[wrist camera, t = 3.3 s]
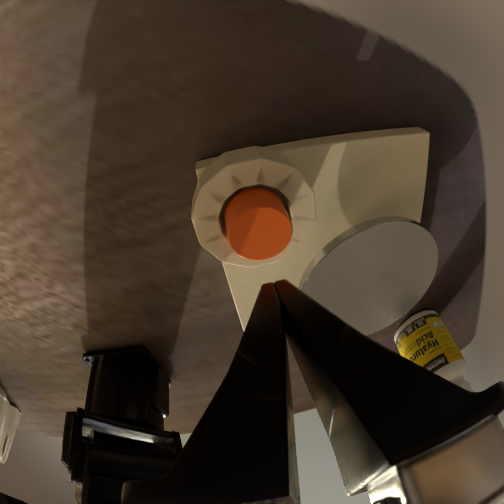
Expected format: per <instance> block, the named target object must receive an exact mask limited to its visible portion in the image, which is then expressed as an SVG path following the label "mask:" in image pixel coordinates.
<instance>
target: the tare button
mask: <svg viewBox="0 0 504 504" xmlns="http://www.w3.org/2000/svg"><path fill="white" fill-rule="evenodd" d="M225 222H226V230H227V238H228V242H229V245H230V247H231V248H232V250H233V251H234V252H235V253H236V254H238V255H239V256H241V257H243V258H245V259H249V260H257V261H258V260H266V259H269V258H272V257H274V256H276V255H278V254H279V253H281V252H282V251H283V250H284V249H285V248H286V247H287V245H288V244H289V242H290V240H291V237H292V233H293V226H292V222H291V220H290V218H289V215H288V213H287V211H286V209H285V207H284V205H283V203H282V201H281V199H280V198H279V197H278V196H277V195H276V194H275V193H273V192H271V191H269V190H266V189H262V188H253V189H248V190H245V191H242V192H241V193H239V194H237V195H236V196H235V197H234V198H233V199H232V200H231V201H230V202H229V204H228V206H227V208H226V212H225Z"/></svg>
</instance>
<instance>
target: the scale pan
mask: <svg viewBox="0 0 504 504" xmlns="http://www.w3.org/2000/svg"><path fill="white" fill-rule="evenodd" d="M437 265H438V249H437V245H436V242H435V240H434V238H433V237H432V235H431V234H430V233H429V231H428V230H427V229H426V228H425V227H424V226H422V225H421V224H420V223H418V222H416V221H414V220H412V219H409V218H406V217H399V216H387V217H380V218H375V219H372V220H368V221H365V222H363V223H360V224H358V225H355V226H354V227H352V228H350V229H348V230H346V231H344V232H343V233H341V234H340V235H338V236H337V237H335V238H334V239H333V240H332V241H330V242H329V243H328V244H327V245H326V246H324V247H323V248H322V249H321V250H320V251H319V252H318V253H317V255H316V256H315V257H314V258H313V259H312V261H311V262H310V263H309V265H308V266H307V268H306V269H305V271H304V273H303V275H302V277H301V279H300V282H299V285H298V288H299V289H300V290H301V291H303V292H304V293H306V294H307V295H308V296H310V297H311V298H313V299H314V300H315V301H317V302H318V303H320V304H321V305H322V306H324V307H325V308H326V309H328V310H329V311H331V312H332V313H333V314H335V315H336V316H338V317H339V318H340V319H342V320H343V321H345V322H346V323H347V324H349V325H351V326H352V327H353V328H355V329H356V330H358V331H359V332H361V333H362V334H364V335H368V334H371V333H374V332H376V331H379V330H381V329H383V328H385V327H387V326H389V325H390V324H392V323H394V322H395V321H397V320H398V319H400V318H401V317H402V316H404V315H405V314H406V313H407V312H408V311H410V310H411V309H412V308H413V307H414V306H415V305H416V304H417V303H418V301H419V300H420V299H421V298H422V297H423V295H424V294H425V293H426V291H427V289H428V288H429V286H430V284H431V282H432V280H433V278H434V276H435V273H436V269H437Z"/></svg>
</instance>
